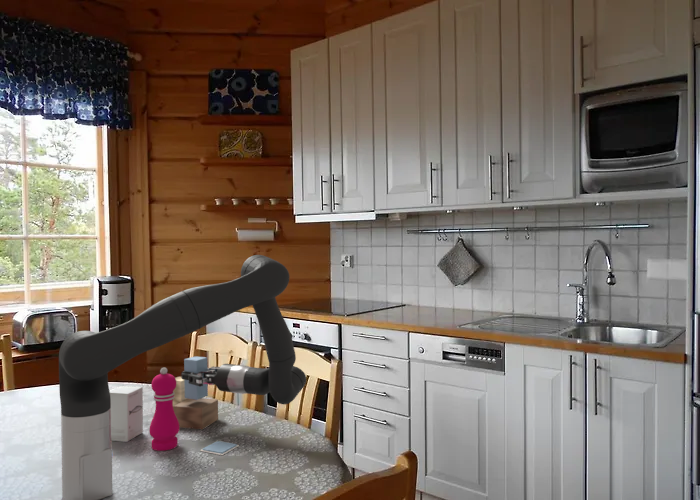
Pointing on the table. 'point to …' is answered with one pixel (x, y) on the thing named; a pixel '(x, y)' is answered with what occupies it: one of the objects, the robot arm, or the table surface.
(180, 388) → the oak pillar
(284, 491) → the table surface
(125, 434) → the supplement box
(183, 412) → the walnut block
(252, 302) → the robot arm
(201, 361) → the blue pillar
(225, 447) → the tile
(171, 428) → the pepper mill
